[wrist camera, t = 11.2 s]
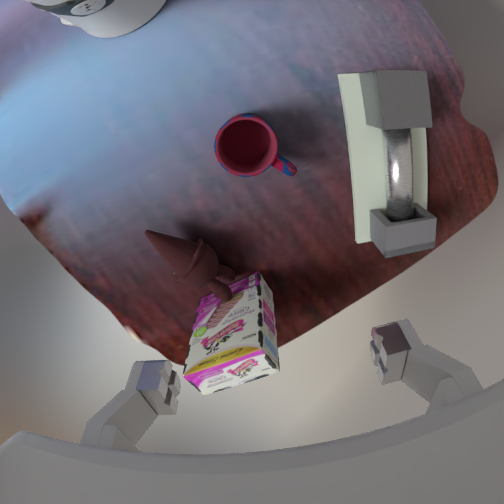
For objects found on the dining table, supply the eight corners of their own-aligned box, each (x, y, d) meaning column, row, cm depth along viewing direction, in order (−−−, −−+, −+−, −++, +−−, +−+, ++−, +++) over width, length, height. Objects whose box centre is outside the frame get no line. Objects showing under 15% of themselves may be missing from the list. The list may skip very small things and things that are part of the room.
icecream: (125, 264, 38) (214, 317, 44) (148, 232, 34) (247, 295, 40) (142, 230, 43) (221, 282, 49) (166, 199, 39) (251, 258, 45)
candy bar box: (257, 267, 46) (263, 347, 31) (273, 291, 48) (283, 372, 33) (196, 297, 48) (180, 377, 34) (213, 318, 50) (204, 398, 36)
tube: (376, 125, 35) (389, 128, 31) (401, 123, 34) (416, 127, 31) (382, 228, 42) (392, 240, 38) (405, 224, 41) (417, 235, 38)
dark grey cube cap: (358, 73, 32) (376, 70, 26) (403, 72, 31) (426, 71, 26) (366, 124, 35) (384, 129, 30) (410, 122, 34) (432, 127, 29)
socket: (369, 209, 40) (386, 227, 35) (416, 202, 40) (436, 217, 35) (370, 238, 43) (385, 258, 37) (415, 229, 42) (434, 247, 37)
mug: (240, 103, 35) (239, 103, 29) (302, 150, 38) (313, 160, 32) (209, 144, 37) (201, 153, 31) (271, 188, 40) (275, 205, 34)
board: (337, 74, 33) (339, 74, 32) (416, 73, 32) (419, 73, 31) (355, 240, 44) (357, 243, 43) (422, 227, 43) (425, 230, 42)
